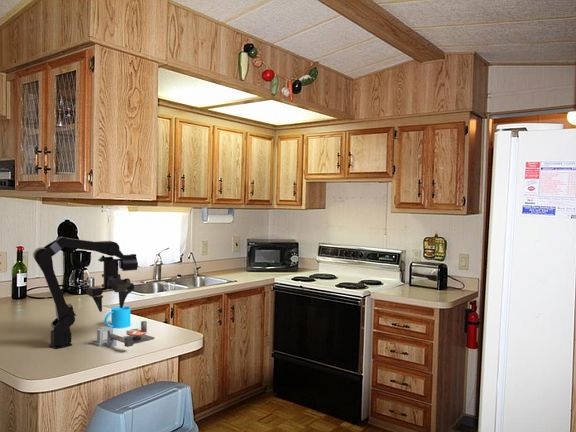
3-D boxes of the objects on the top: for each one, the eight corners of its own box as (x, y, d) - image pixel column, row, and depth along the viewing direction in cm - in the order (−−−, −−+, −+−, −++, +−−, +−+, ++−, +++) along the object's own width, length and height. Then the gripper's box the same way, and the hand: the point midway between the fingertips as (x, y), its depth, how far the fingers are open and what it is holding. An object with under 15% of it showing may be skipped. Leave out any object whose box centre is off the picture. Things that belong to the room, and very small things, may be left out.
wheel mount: (133, 344, 193) (133, 341, 192) (119, 339, 199) (119, 336, 199) (154, 338, 200) (154, 335, 200) (140, 334, 207) (140, 331, 207)
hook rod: (127, 347, 182) (127, 338, 181) (108, 340, 190) (108, 332, 190) (132, 345, 183) (132, 337, 183) (113, 339, 191) (113, 331, 191)
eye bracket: (104, 348, 187) (104, 333, 187) (94, 344, 192) (94, 329, 192) (121, 344, 192) (121, 329, 192) (110, 340, 197) (110, 326, 197)
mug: (123, 323, 226) (123, 305, 226) (134, 326, 221) (134, 308, 220) (99, 328, 217) (99, 309, 216) (109, 331, 211) (109, 312, 211)
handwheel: (123, 337, 196) (123, 323, 196) (131, 332, 204) (131, 318, 204) (142, 338, 195) (142, 324, 195) (150, 333, 203) (150, 319, 203)
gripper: (100, 276, 187) (100, 317, 187) (142, 271, 201) (142, 308, 202) (85, 273, 194) (85, 312, 194) (126, 268, 208) (127, 305, 209)
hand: (111, 309), depth 199 cm, fingers open, 9 cm apart
